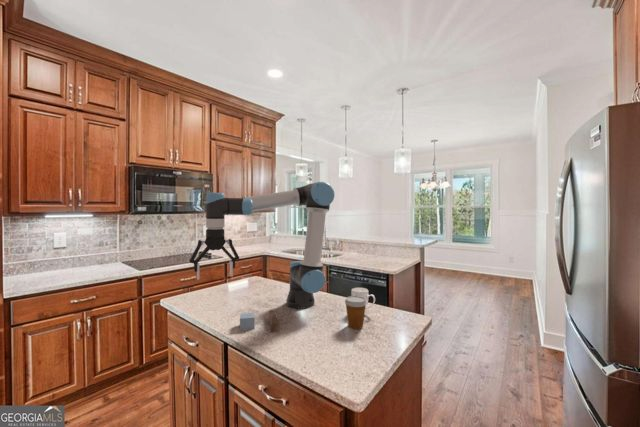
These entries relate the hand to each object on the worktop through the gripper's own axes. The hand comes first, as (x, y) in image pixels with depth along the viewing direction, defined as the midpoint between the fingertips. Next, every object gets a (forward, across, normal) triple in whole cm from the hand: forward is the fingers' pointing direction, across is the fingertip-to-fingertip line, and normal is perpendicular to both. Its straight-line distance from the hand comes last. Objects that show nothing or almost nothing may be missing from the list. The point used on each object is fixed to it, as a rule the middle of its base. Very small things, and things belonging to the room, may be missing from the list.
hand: (215, 277), depth 124 cm
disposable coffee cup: (+21, -55, +28) cm, 65 cm away
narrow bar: (+21, -23, +10) cm, 33 cm away
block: (+21, -12, +7) cm, 25 cm away
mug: (+21, -67, +17) cm, 72 cm away
